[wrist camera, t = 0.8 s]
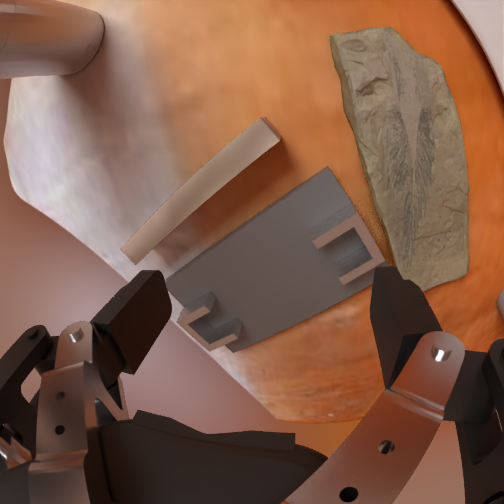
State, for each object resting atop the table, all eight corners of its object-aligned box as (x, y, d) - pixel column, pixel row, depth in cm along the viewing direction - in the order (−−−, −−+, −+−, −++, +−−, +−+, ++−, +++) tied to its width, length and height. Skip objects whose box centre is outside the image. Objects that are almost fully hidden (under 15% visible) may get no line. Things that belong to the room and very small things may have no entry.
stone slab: (426, 18, 15) (480, 280, 26) (411, 28, 19) (465, 264, 30) (312, 37, 18) (396, 313, 29) (309, 48, 22) (387, 293, 33)
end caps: (183, 306, 36) (176, 321, 33) (351, 202, 27) (357, 212, 24) (214, 335, 38) (209, 351, 35) (377, 246, 28) (385, 260, 26)
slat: (140, 230, 33) (120, 249, 29) (265, 116, 25) (260, 117, 21) (153, 244, 34) (135, 265, 30) (281, 135, 26) (279, 140, 22)
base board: (166, 278, 36) (162, 285, 35) (327, 166, 27) (329, 169, 25) (235, 345, 40) (233, 352, 39) (388, 265, 31) (391, 272, 30)
